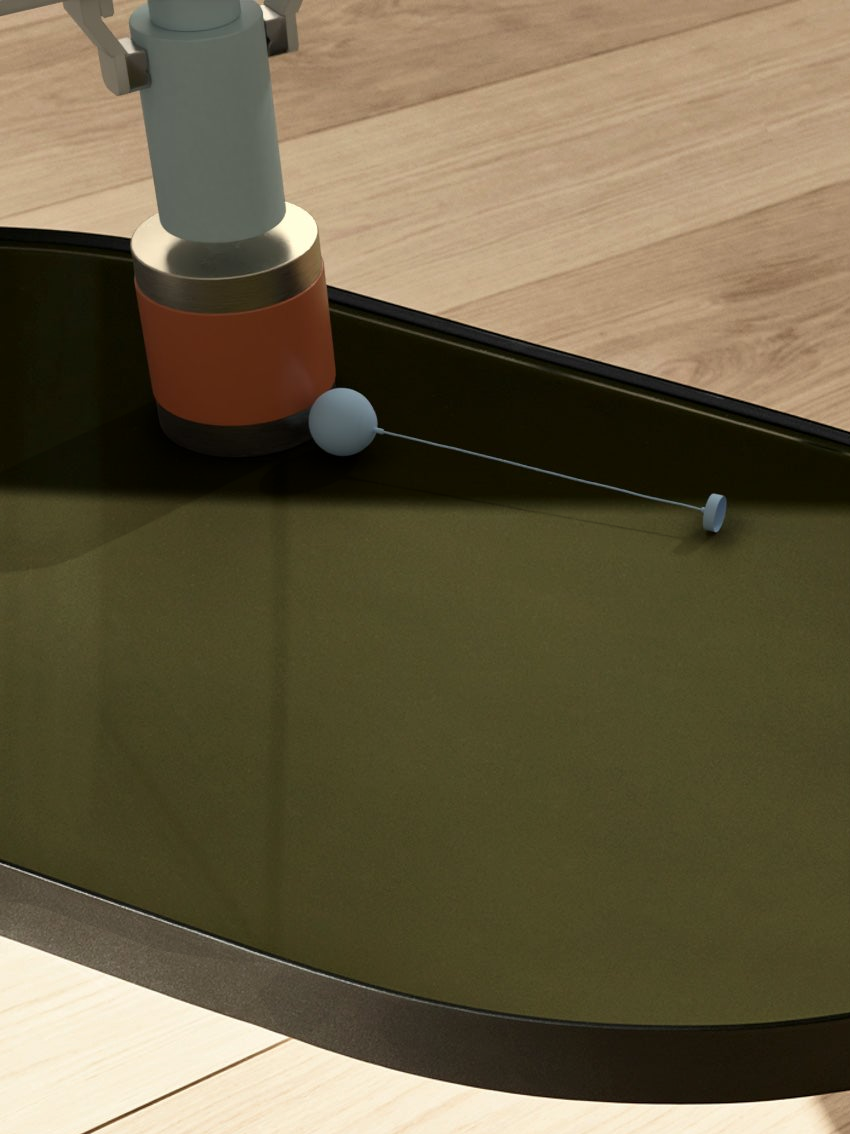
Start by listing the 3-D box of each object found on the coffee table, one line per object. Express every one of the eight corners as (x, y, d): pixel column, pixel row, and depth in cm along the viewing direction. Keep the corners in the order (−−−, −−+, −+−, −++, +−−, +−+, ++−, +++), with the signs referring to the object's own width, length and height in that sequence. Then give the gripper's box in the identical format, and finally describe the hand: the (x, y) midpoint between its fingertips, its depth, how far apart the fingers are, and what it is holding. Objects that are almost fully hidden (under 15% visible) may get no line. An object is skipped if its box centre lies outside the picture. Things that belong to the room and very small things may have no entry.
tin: (128, 400, 110) (97, 224, 105) (289, 350, 114) (267, 178, 108) (205, 478, 105) (177, 297, 99) (371, 423, 108) (353, 245, 103)
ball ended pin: (702, 553, 100) (715, 484, 99) (293, 451, 105) (301, 384, 104) (724, 542, 103) (737, 475, 101) (324, 443, 108) (331, 378, 107)
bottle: (139, 208, 104) (93, -76, 95) (252, 178, 106) (216, -102, 98) (192, 255, 100) (149, -36, 92) (308, 222, 102) (276, -65, 94)
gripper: (352, -337, 96) (380, -5, 105) (-126, -254, 88) (-50, 100, 97) (426, -304, 92) (449, 39, 101) (-67, -213, 83) (6, 152, 92)
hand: (202, 70), depth 99 cm, fingers closed on bottle, 5 cm apart
